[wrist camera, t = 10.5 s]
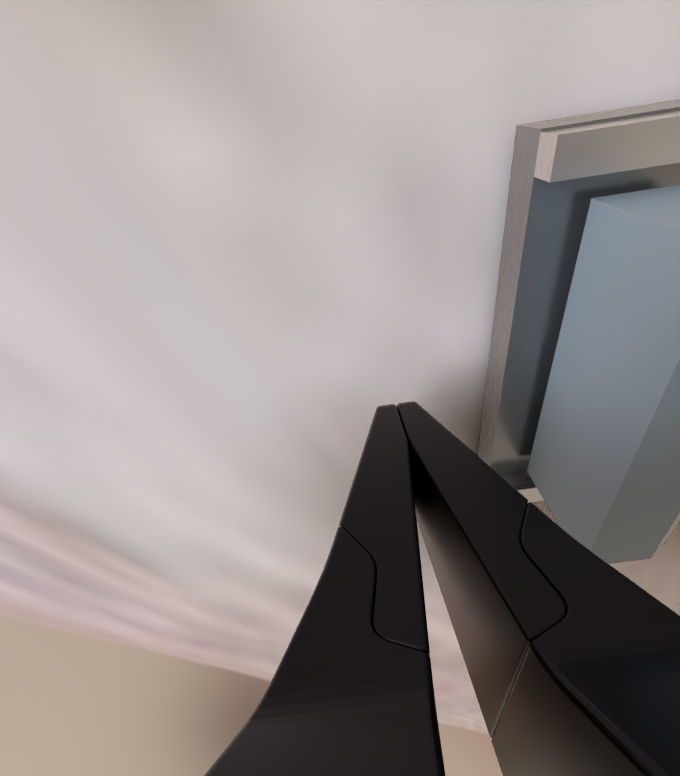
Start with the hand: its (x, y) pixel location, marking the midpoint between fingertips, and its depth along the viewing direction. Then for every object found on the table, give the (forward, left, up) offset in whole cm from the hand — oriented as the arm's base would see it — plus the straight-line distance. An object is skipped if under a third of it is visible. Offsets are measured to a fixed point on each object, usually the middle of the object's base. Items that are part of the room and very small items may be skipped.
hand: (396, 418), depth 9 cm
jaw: (-5, 0, -1) cm, 5 cm away
